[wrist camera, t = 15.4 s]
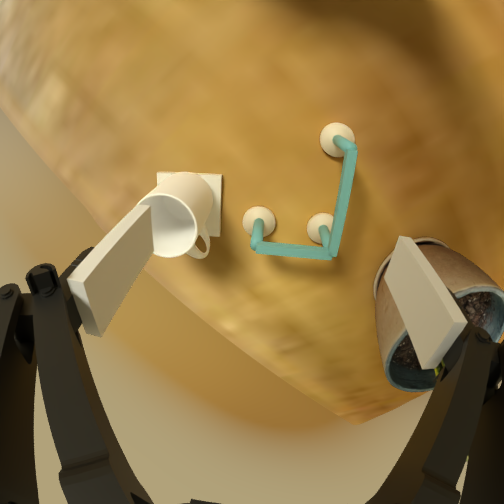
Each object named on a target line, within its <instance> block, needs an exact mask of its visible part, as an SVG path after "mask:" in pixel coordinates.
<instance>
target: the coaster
mask: <svg viewBox="0 0 504 504" xmlns="http://www.w3.org/2000/svg"><path fill="white" fill-rule="evenodd" d="M175 173H178V172H158V173H157V186H158V185H159V184H160V183H161V182H163V181H164V180H165V179H166V178H167V177H169V176H171V175H172V174H175ZM194 174H196V175H198V176H200V177H201V178H203V179H204V180H205V181H206V182H207V184H208V185H209V187H210V189H211V191H212V195H213V205H212V209H211V212H210V214H209V216H208V218H207V220H206V222H205V225H206V228H207V230H208V233H209V236H215V237H220V234H221V194H222V174H207V173H194Z"/></svg>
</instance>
